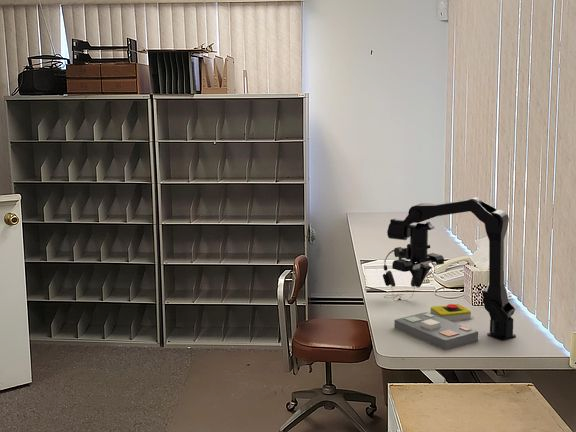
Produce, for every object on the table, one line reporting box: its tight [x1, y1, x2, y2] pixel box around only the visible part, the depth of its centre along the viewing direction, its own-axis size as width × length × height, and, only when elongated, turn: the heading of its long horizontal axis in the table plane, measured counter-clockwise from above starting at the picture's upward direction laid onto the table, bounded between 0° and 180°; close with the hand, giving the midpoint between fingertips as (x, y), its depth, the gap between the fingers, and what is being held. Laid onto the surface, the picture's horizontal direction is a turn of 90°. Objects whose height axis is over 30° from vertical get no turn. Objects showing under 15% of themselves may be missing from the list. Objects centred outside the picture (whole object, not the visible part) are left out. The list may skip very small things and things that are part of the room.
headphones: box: [382, 247, 417, 302], centre depth 249 cm, size 15×11×20 cm
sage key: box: [403, 315, 423, 323], centre depth 218 cm, size 4×4×2 cm
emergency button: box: [429, 303, 475, 322], centre depth 229 cm, size 9×4×15 cm
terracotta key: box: [439, 330, 459, 337], centre depth 205 cm, size 4×4×2 cm
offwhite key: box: [421, 319, 440, 330], centre depth 211 cm, size 4×4×2 cm
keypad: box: [393, 311, 479, 351], centre depth 212 cm, size 23×14×3 cm, turn 32°
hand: (417, 287), depth 223 cm, fingers closed
